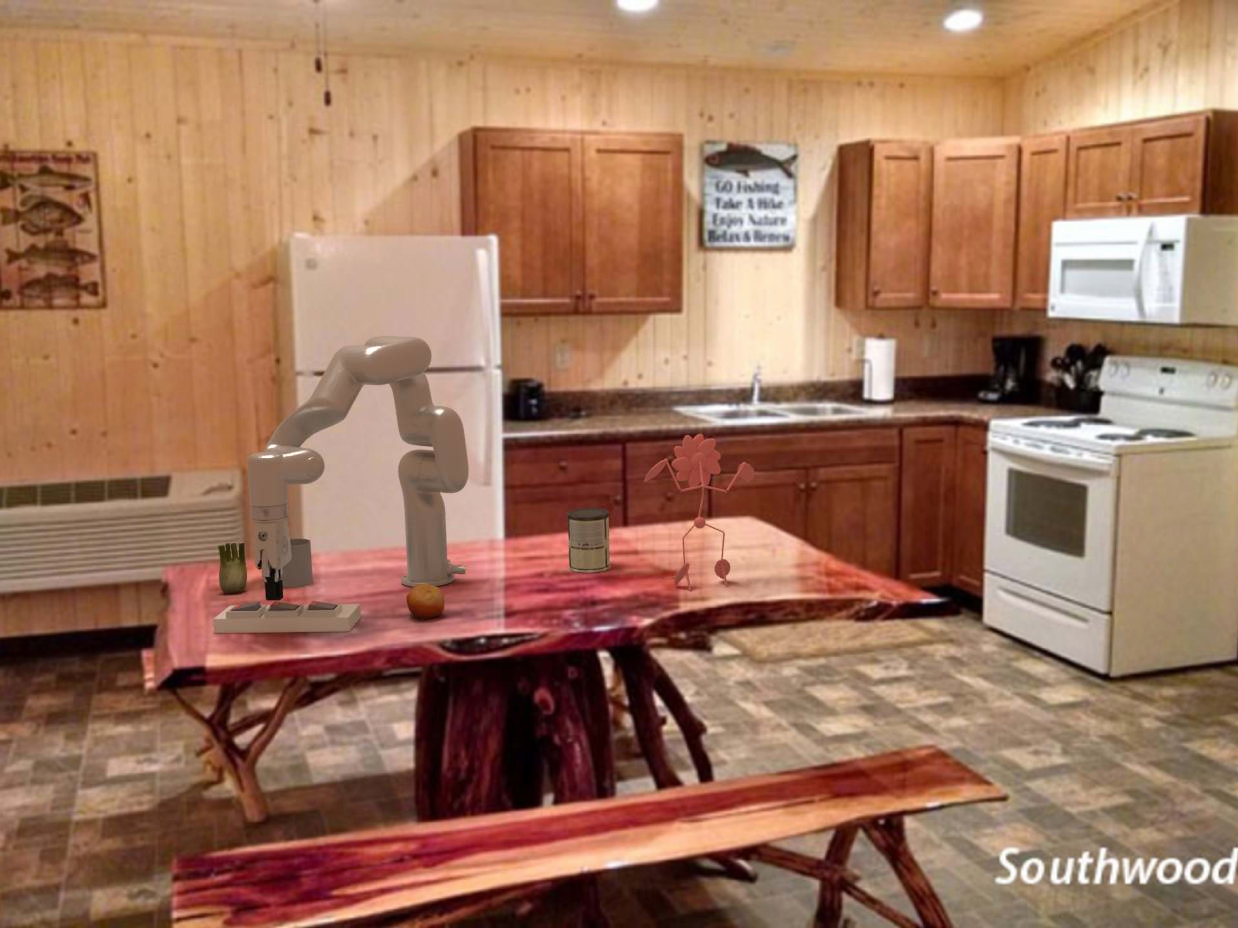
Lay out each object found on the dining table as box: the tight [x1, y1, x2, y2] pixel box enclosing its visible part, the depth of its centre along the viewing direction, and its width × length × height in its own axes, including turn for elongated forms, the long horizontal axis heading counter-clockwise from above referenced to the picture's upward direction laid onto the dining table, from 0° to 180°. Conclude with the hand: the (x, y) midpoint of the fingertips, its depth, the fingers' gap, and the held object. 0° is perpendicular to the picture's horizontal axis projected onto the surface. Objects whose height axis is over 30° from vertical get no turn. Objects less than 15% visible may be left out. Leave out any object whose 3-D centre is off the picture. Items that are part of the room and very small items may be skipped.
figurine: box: [643, 433, 755, 592], centre depth 277 cm, size 15×26×35 cm, turn 109°
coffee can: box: [566, 507, 611, 574], centre depth 293 cm, size 10×10×14 cm
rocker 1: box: [231, 601, 261, 611], centre depth 248 cm, size 5×3×1 cm, turn 88°
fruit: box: [406, 583, 445, 621], centre depth 255 cm, size 8×8×8 cm
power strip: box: [213, 603, 362, 634], centre depth 250 cm, size 28×10×4 cm, turn 89°
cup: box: [280, 538, 314, 589], centre depth 285 cm, size 8×8×10 cm
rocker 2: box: [308, 600, 338, 610], centre depth 248 cm, size 5×3×1 cm, turn 89°
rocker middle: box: [270, 601, 299, 611], centre depth 248 cm, size 5×3×1 cm, turn 89°
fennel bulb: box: [217, 541, 248, 594], centre depth 277 cm, size 6×5×12 cm
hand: (274, 599), depth 247 cm, fingers closed
